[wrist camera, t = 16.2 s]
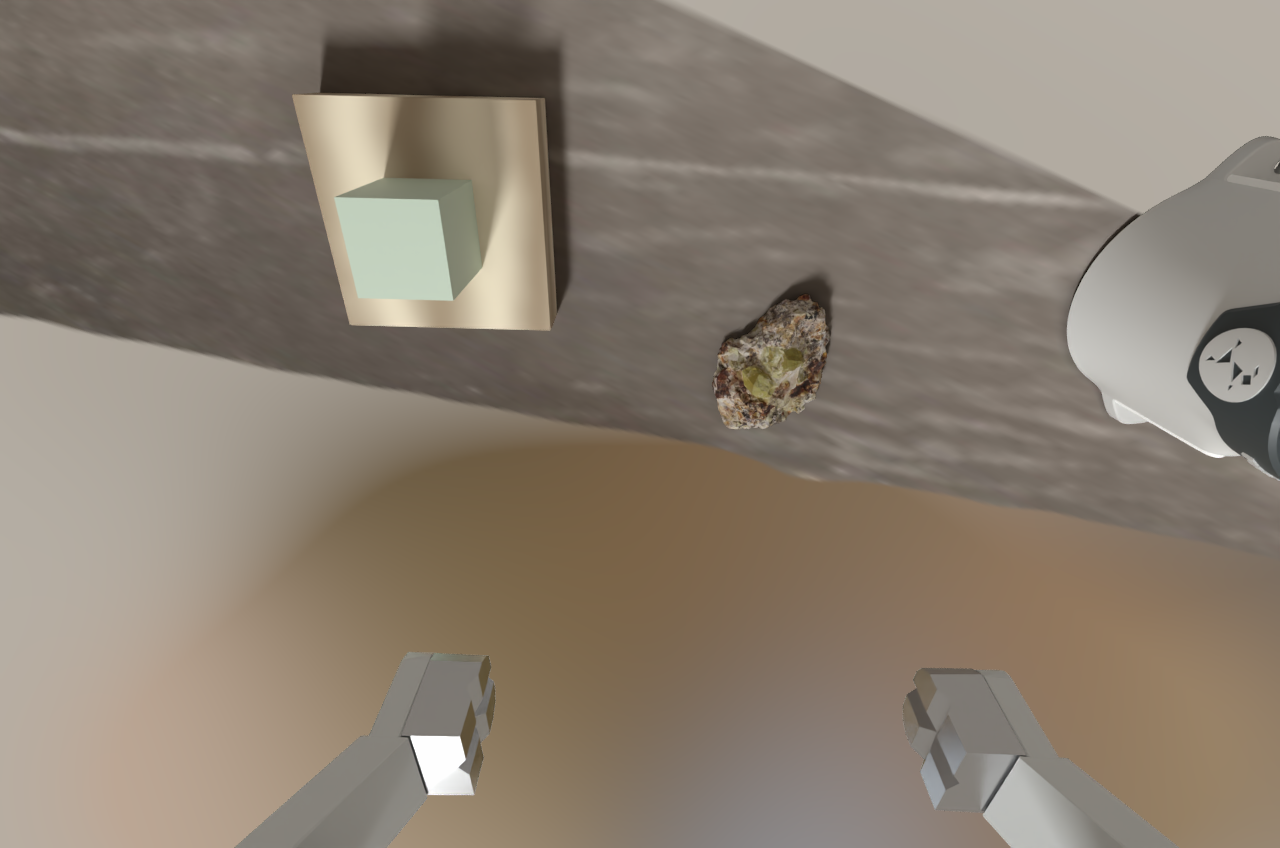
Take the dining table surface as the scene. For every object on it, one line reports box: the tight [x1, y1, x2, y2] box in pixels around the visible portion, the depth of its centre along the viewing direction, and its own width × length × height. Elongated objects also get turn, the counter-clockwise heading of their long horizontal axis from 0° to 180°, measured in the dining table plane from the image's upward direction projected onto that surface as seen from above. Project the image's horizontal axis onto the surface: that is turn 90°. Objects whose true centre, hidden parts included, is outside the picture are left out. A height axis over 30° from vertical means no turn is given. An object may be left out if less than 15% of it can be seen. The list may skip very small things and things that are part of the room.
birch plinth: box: [292, 93, 557, 330], centre depth 36 cm, size 13×13×3 cm
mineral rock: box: [712, 294, 830, 430], centre depth 41 cm, size 11×4×8 cm
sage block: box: [334, 178, 482, 301], centre depth 32 cm, size 5×5×6 cm
